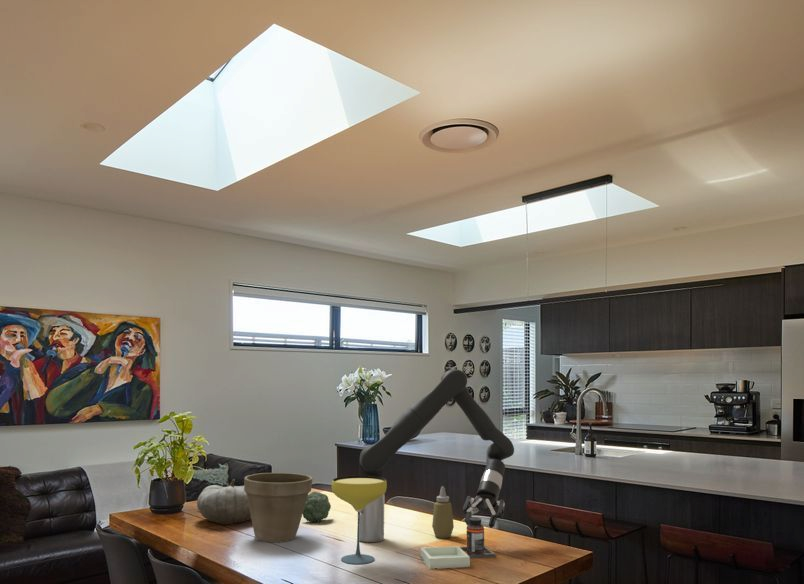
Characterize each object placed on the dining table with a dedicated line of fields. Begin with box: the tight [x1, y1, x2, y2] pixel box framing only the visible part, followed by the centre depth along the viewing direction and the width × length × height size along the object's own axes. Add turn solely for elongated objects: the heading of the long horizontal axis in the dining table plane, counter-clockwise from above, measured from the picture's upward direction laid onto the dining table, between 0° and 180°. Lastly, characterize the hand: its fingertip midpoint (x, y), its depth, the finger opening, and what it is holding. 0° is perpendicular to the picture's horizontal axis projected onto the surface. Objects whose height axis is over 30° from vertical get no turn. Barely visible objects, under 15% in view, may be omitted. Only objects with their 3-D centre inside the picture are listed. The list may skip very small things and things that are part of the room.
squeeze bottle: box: [431, 486, 454, 539], centre depth 232 cm, size 8×8×18 cm
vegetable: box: [302, 491, 332, 523], centre depth 257 cm, size 12×13×15 cm
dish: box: [419, 545, 471, 570], centre depth 198 cm, size 13×13×3 cm
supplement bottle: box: [466, 517, 485, 554], centre depth 209 cm, size 6×6×11 cm
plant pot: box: [243, 472, 313, 543], centre depth 228 cm, size 25×25×22 cm
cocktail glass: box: [331, 475, 388, 565], centre depth 201 cm, size 18×18×25 cm
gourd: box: [196, 478, 252, 526], centre depth 253 cm, size 25×25×17 cm
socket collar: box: [459, 545, 496, 559], centre depth 208 cm, size 10×10×1 cm
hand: (478, 525), depth 212 cm, fingers open, 8 cm apart
